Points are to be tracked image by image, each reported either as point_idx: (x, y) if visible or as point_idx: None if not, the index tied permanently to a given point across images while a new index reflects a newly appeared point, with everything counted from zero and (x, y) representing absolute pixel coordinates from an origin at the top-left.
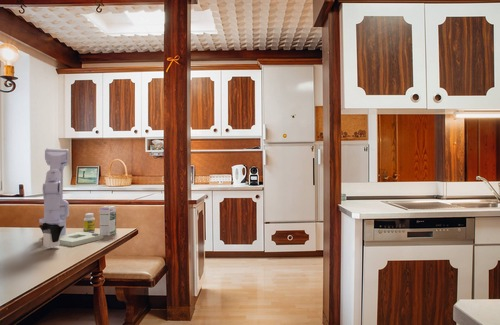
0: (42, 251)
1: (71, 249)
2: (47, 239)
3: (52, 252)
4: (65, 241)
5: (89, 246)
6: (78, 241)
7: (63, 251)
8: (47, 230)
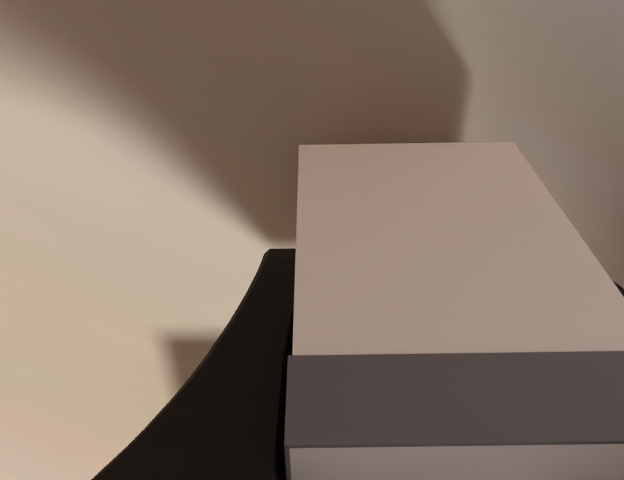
0: (347, 6)
1: (57, 294)
2: (399, 233)
3: (101, 59)
4: None
5: (39, 441)
6: None
7: (22, 185)
8: (471, 453)
